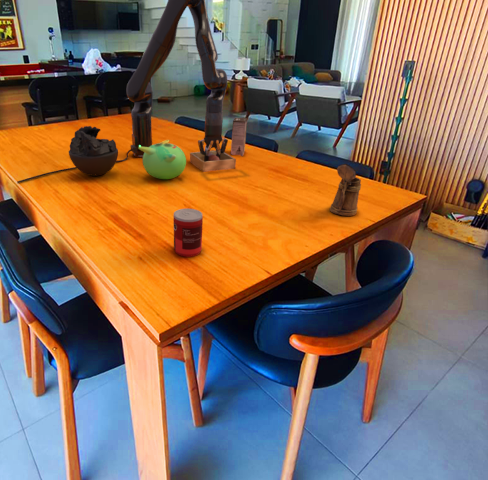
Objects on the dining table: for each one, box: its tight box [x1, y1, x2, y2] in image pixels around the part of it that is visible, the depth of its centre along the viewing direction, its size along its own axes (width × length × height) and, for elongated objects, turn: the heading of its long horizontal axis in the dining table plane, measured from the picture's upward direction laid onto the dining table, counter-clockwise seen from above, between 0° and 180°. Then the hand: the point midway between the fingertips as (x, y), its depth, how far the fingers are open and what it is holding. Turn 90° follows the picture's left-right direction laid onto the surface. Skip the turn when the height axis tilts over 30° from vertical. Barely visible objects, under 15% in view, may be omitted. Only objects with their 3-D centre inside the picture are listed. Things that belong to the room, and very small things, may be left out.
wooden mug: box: [329, 163, 362, 217], centre depth 126 cm, size 9×14×18 cm, turn 139°
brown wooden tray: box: [189, 150, 237, 173], centre depth 174 cm, size 16×17×5 cm
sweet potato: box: [208, 153, 220, 161], centre depth 174 cm, size 11×5×5 cm, turn 20°
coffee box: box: [230, 117, 248, 157], centre depth 189 cm, size 9×6×16 cm
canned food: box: [173, 208, 204, 258], centre depth 105 cm, size 8×8×11 cm
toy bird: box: [138, 139, 187, 180], centre depth 156 cm, size 18×17×15 cm
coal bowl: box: [68, 125, 119, 177], centre depth 158 cm, size 20×20×19 cm
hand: (211, 163), depth 175 cm, fingers closed on sweet potato, 4 cm apart
